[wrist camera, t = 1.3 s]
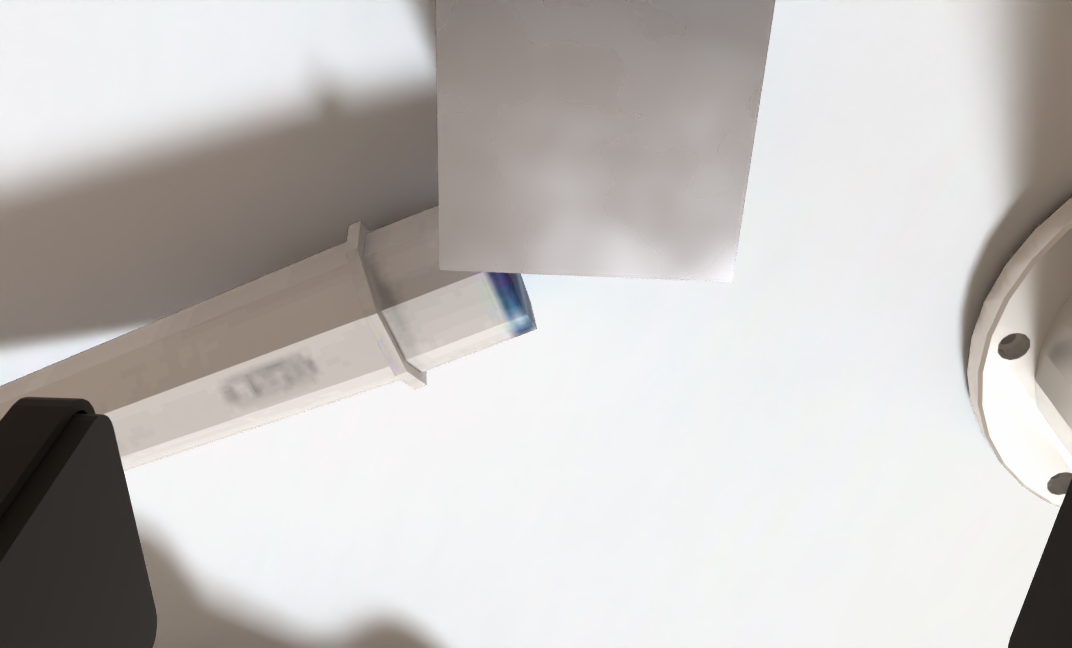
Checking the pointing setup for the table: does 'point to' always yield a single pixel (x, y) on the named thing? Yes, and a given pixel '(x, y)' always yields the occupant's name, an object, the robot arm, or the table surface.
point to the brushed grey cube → (597, 134)
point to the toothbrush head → (289, 342)
